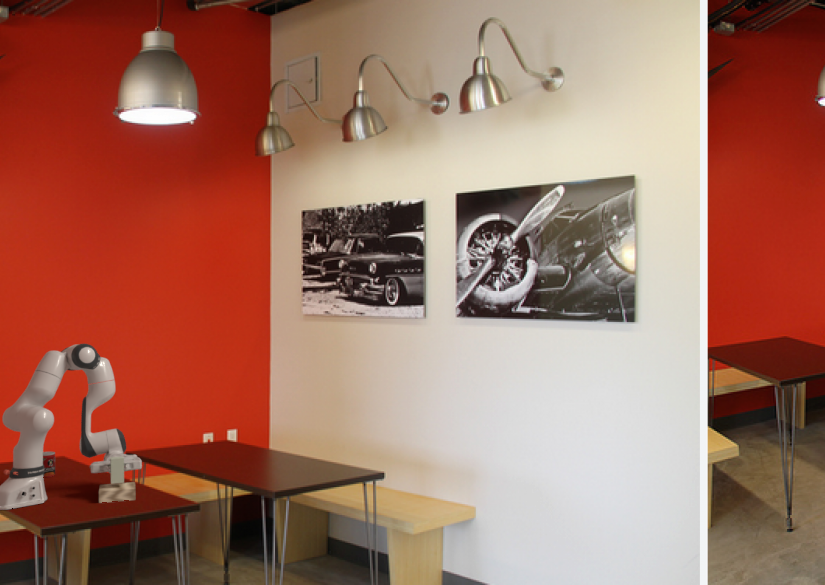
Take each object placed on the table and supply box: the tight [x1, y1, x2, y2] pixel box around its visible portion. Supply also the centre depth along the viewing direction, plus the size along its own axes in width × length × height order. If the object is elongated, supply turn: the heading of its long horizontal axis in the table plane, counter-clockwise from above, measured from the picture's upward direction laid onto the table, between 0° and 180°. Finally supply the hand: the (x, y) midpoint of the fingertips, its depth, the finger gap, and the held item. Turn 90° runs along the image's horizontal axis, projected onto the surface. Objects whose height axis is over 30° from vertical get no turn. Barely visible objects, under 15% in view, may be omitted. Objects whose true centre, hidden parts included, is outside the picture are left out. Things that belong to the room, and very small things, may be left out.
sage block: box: [110, 456, 125, 484], centre depth 332 cm, size 5×5×10 cm
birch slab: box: [98, 481, 137, 504], centre depth 331 cm, size 14×14×5 cm
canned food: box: [43, 451, 56, 478], centre depth 379 cm, size 8×8×11 cm
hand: (117, 469), depth 331 cm, fingers closed on sage block, 5 cm apart
